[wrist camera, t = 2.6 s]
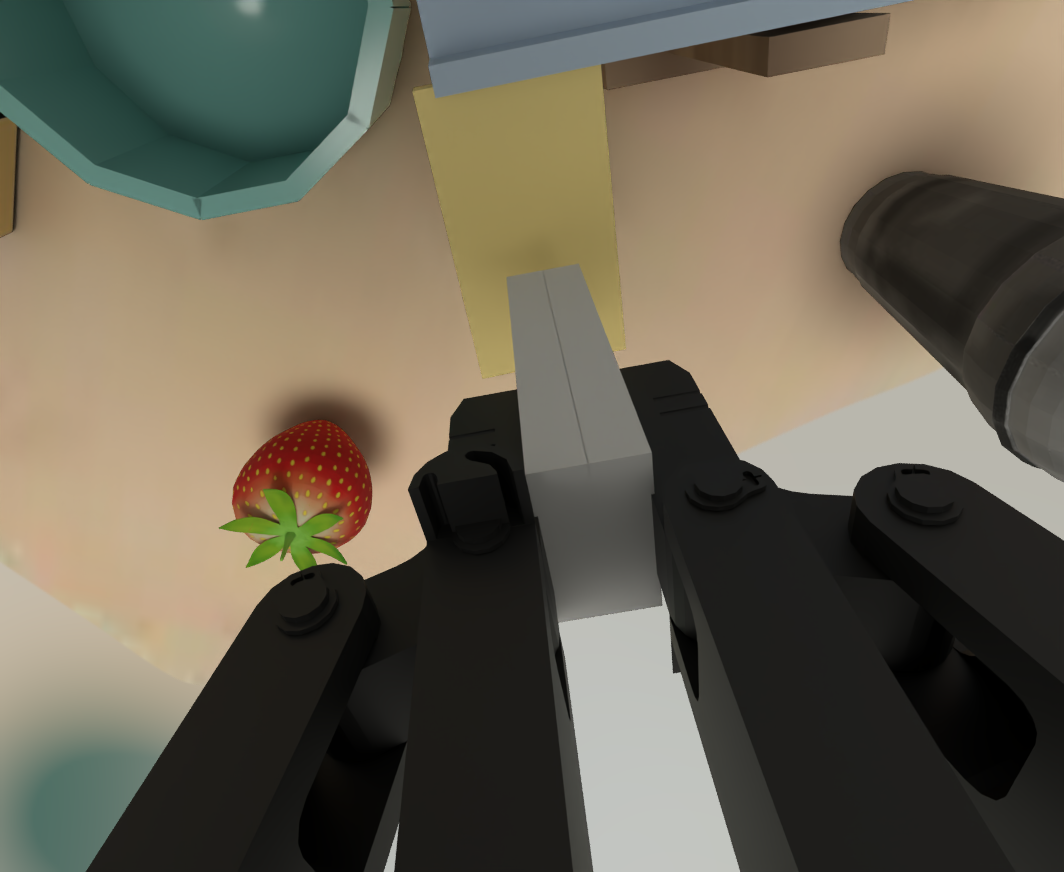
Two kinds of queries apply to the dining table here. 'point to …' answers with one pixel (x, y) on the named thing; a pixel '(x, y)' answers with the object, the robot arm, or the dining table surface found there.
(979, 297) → the beverage cup
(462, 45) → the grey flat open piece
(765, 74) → the stand
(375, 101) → the bowl
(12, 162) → the puzzle cube
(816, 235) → the dining table surface
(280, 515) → the fruit
